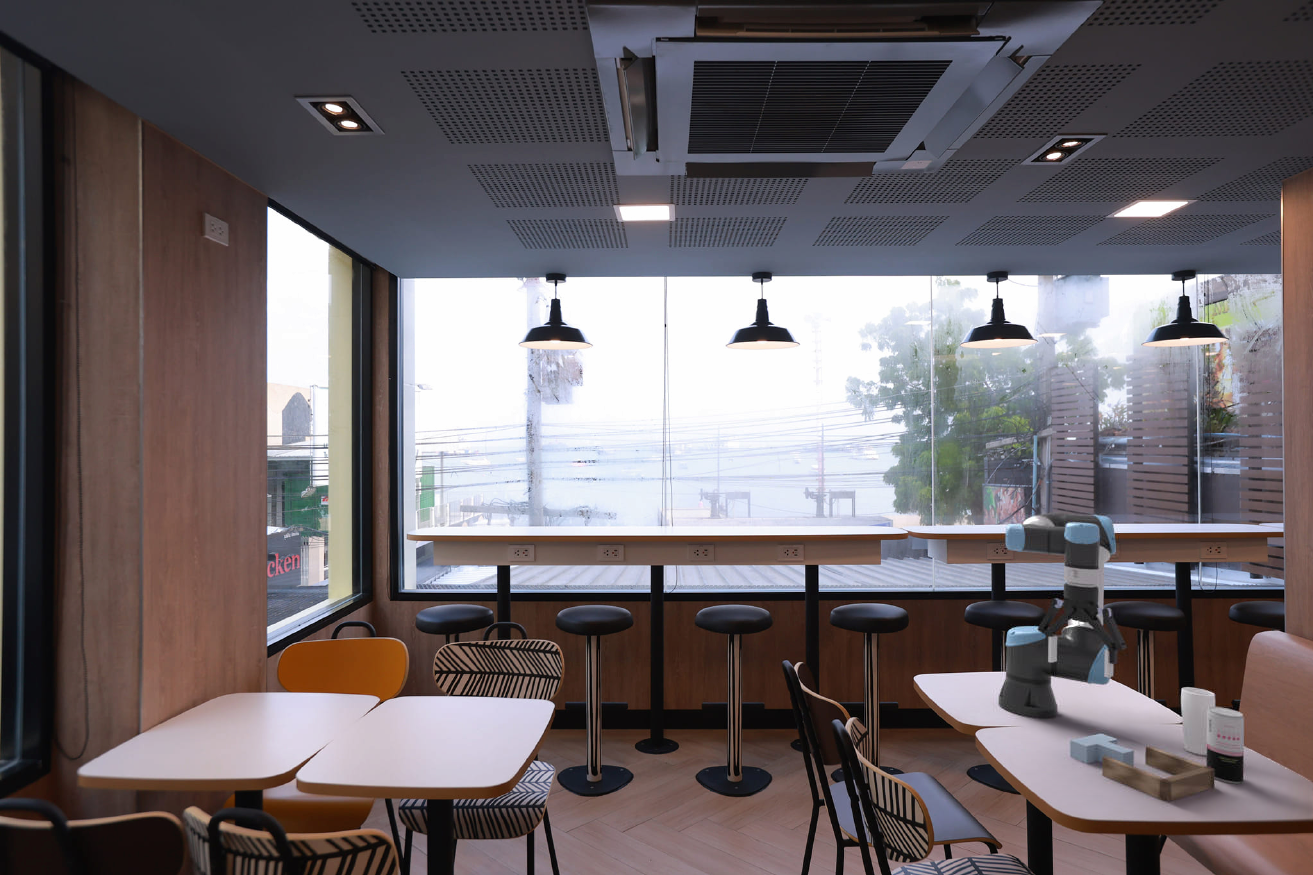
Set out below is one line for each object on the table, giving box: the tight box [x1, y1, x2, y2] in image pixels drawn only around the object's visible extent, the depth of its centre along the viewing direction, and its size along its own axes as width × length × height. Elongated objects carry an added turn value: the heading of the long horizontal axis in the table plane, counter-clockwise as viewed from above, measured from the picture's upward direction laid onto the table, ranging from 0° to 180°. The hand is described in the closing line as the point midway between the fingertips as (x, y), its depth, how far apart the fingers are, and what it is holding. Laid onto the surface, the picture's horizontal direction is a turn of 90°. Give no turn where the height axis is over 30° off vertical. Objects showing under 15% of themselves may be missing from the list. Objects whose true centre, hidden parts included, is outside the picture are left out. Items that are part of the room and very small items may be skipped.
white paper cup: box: [1180, 686, 1216, 756], centre depth 175 cm, size 7×7×15 cm
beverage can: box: [1206, 706, 1245, 784], centre depth 161 cm, size 6×7×15 cm
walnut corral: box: [1101, 745, 1215, 803], centre depth 157 cm, size 14×18×4 cm
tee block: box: [1069, 733, 1135, 767], centre depth 167 cm, size 10×12×4 cm
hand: (1079, 668), depth 177 cm, fingers open, 13 cm apart
